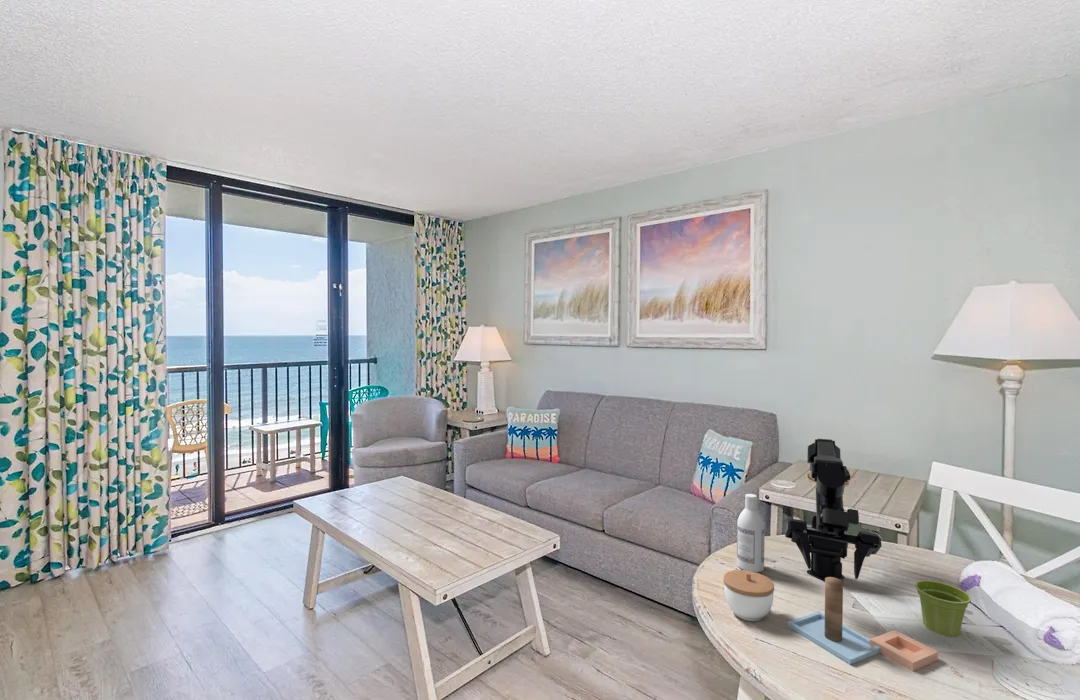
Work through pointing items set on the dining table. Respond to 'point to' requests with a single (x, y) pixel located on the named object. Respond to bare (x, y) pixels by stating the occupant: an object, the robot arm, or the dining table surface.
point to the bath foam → (750, 537)
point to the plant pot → (942, 606)
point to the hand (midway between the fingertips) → (832, 573)
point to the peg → (833, 609)
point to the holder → (904, 650)
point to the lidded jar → (748, 594)
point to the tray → (847, 650)
